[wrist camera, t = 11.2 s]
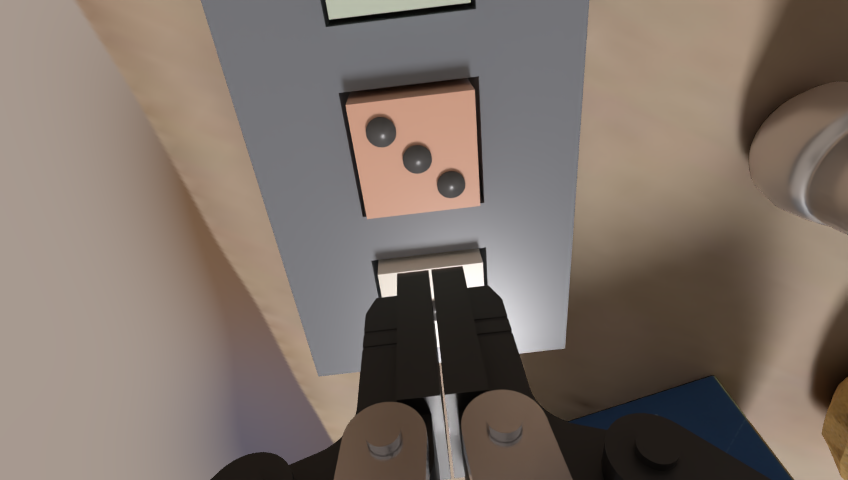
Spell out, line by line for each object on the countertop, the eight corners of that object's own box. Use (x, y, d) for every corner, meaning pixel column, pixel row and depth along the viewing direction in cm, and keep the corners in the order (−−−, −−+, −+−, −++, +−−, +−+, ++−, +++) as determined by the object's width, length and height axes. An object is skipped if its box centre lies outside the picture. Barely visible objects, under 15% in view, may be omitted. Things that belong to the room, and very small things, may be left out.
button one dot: (380, 228, 26) (377, 276, 22) (469, 218, 26) (483, 264, 22) (393, 299, 28) (392, 353, 24) (474, 290, 28) (487, 343, 24)
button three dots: (354, 80, 22) (345, 105, 18) (460, 67, 22) (475, 90, 18) (371, 178, 24) (366, 220, 20) (466, 167, 24) (480, 207, 20)
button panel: (183, -189, 17) (129, -229, 14) (565, -238, 17) (609, -290, 13) (327, 328, 30) (318, 376, 26) (545, 303, 30) (565, 348, 26)
